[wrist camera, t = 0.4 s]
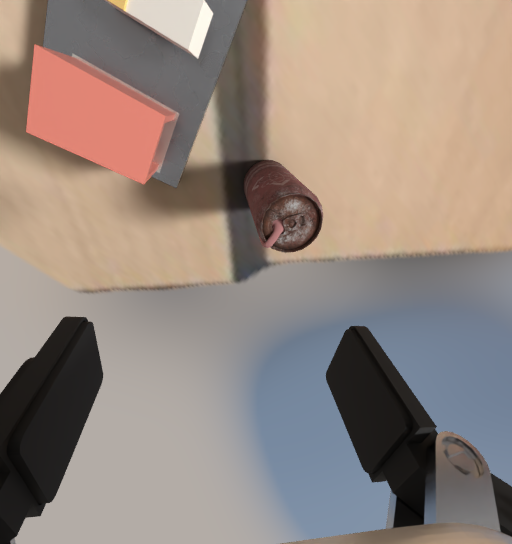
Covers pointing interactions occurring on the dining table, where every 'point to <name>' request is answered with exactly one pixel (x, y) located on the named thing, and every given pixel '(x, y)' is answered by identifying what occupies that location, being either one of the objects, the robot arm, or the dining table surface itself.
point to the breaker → (171, 20)
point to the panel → (149, 65)
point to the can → (282, 207)
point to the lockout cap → (94, 115)
